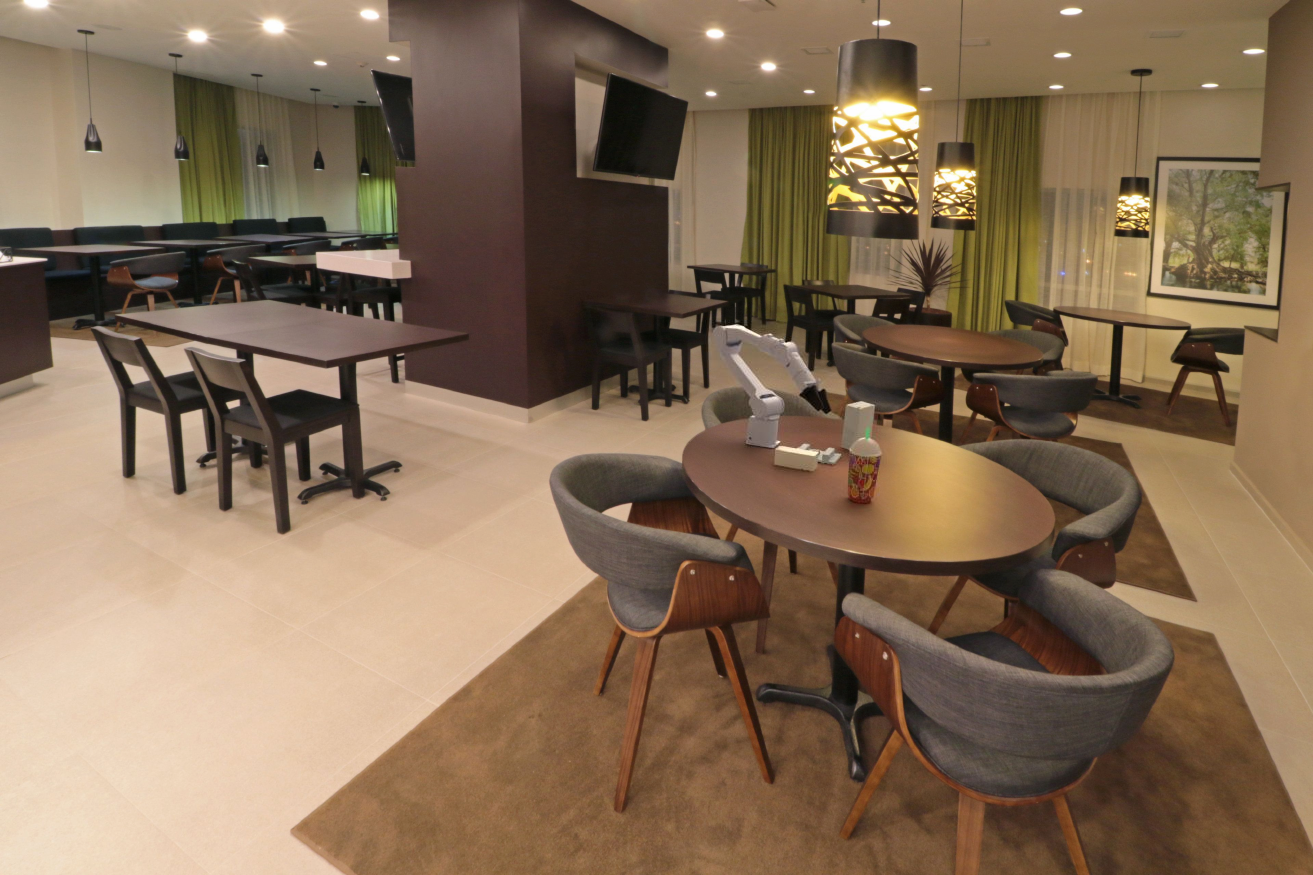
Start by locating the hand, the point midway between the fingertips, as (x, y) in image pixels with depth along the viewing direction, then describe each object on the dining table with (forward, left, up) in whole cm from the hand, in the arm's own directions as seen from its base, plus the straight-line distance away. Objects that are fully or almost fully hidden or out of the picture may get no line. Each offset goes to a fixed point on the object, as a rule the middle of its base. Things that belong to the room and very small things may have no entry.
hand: (824, 410), depth 238 cm
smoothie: (+18, -27, -16) cm, 36 cm away
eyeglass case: (-5, -8, -16) cm, 19 cm away
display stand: (-2, +4, -16) cm, 17 cm away
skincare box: (+7, +21, -16) cm, 27 cm away
